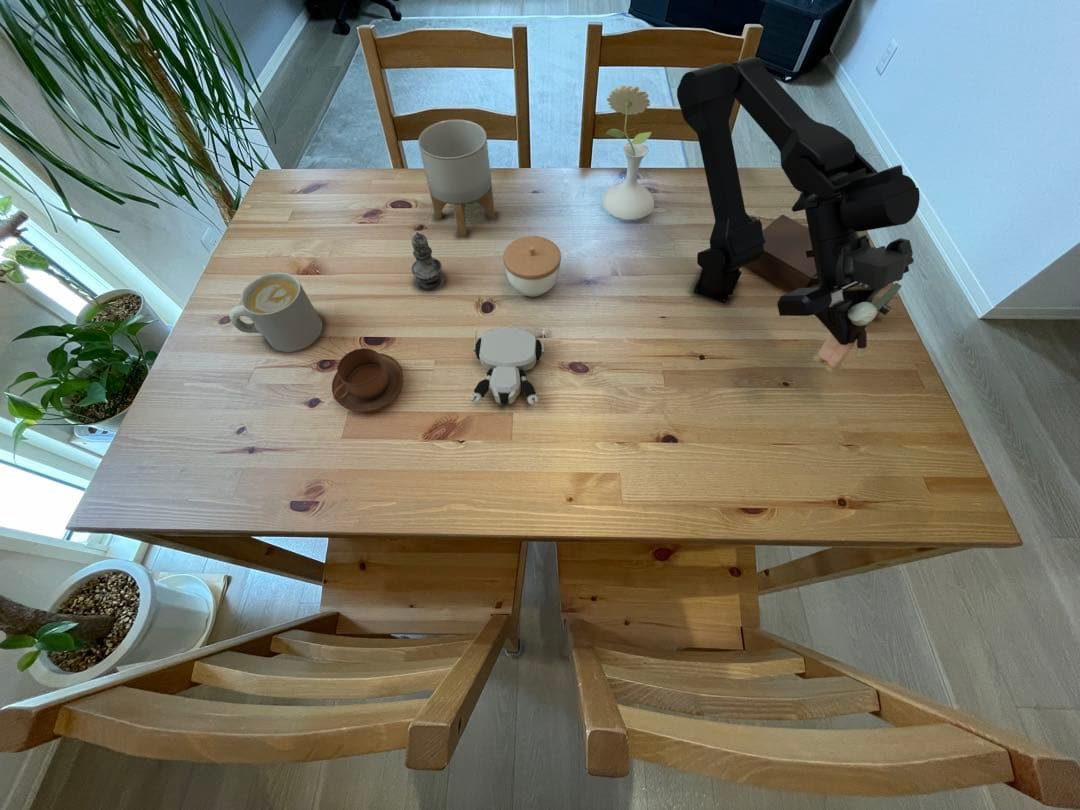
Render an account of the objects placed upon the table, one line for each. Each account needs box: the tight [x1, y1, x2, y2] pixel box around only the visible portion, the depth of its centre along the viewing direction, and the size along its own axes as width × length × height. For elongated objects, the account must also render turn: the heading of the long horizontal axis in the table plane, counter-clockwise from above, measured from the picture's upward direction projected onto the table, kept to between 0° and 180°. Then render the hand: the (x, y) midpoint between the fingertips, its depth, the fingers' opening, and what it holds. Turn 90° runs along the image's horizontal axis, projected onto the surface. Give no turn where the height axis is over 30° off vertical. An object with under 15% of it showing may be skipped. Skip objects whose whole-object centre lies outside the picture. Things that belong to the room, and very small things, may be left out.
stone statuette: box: [410, 231, 444, 292], centre depth 97 cm, size 6×6×12 cm
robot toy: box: [469, 326, 545, 406], centre depth 88 cm, size 12×4×15 cm
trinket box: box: [502, 235, 562, 298], centre depth 97 cm, size 11×11×9 cm
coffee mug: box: [229, 271, 323, 353], centre depth 91 cm, size 13×10×10 cm
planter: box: [417, 119, 496, 237], centre depth 105 cm, size 13×13×18 cm
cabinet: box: [744, 214, 817, 293], centre depth 100 cm, size 14×12×6 cm
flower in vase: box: [601, 84, 655, 222], centre depth 102 cm, size 13×11×25 cm
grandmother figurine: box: [813, 302, 878, 374], centre depth 76 cm, size 8×4×13 cm, turn 43°
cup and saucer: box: [331, 347, 404, 413], centre depth 86 cm, size 12×12×6 cm
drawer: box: [807, 274, 902, 316], centre depth 95 cm, size 14×10×4 cm
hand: (851, 340), depth 75 cm, fingers closed on grandmother figurine, 3 cm apart
